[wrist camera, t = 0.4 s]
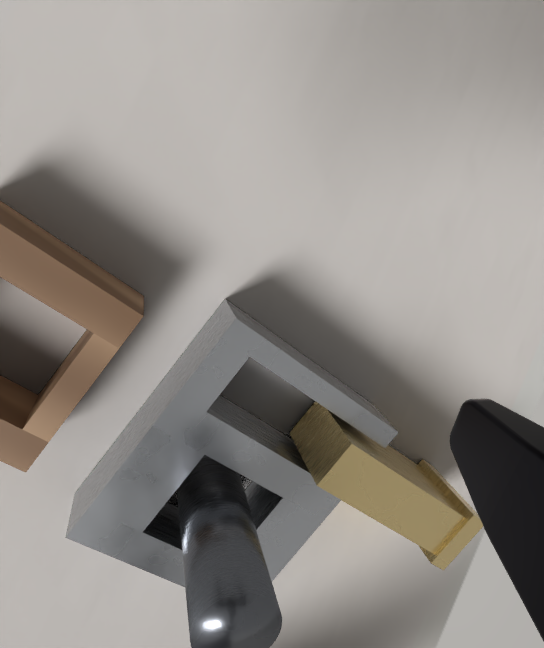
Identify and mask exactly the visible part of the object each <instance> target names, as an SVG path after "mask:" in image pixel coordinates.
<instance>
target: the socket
mask: <svg viewBox="0 0 544 648" xmlns="http://www.w3.org/2000/svg"><path fill="white" fill-rule="evenodd" d="M249 357H251V358H252V359H254V360H255V361H257V362H258V363H259V364H261V365H262V366H264V367H265V368H267V369H268V370H270V371H271V372H273V373H274V374H276V375H277V376H279V377H280V378H282V379H283V380H285V381H286V382H288V383H289V384H291V385H292V386H294V387H295V388H297V389H298V390H300V391H301V392H303V393H304V394H305V395H307V396H308V397H310V398H311V399H313V400H314V401H316V402H317V403H319V404H320V405H322V406H323V407H325V408H326V409H328V410H329V411H331V412H332V413H334V414H335V415H337V416H338V417H340V418H341V419H343V420H344V421H346V422H347V423H348V424H350V425H351V426H353V427H354V428H356V429H357V430H359V431H360V432H362V433H363V434H365V435H366V436H368V437H369V438H371V439H372V440H374V441H375V442H377V443H378V444H380V445H381V446H383V447H384V448H386V447H387V446H388V444H389V443H390V442H391V441H392V440H393V438H394V437H395V436H396V435H397V434H398V433H399V432H398V431H397V430H396V429H395V428H394V427H393V426H392V425H391V424H390V423H389V422H388V421H387V419H386V418H385V417H384V416H383V415H382V414H381V413H380V412H379V411H378V410H377V409H376V408H375V406H374V405H373V404H372V403H370V402H369V401H367V400H366V399H365V398H363V397H362V396H360V395H359V394H358V393H356V392H355V391H353V390H352V389H351V388H349V387H348V386H346V385H345V384H344V383H342V382H341V381H339V380H338V379H337V378H335V377H334V376H332V375H331V374H330V373H328V372H327V371H326V370H324V369H323V368H321V367H320V366H319V365H317V364H316V363H314V362H313V361H312V360H310V359H309V358H307V357H306V356H305V355H303V354H302V353H300V352H299V351H298V350H296V349H295V348H293V347H292V346H291V345H289V344H288V343H286V342H285V341H284V340H282V339H281V338H279V337H278V336H277V335H275V334H274V333H272V332H271V331H270V330H268V329H267V328H265V327H264V326H263V325H261V324H260V323H258V322H257V321H256V320H254V319H253V318H251V317H250V316H249V315H247V314H246V313H244V312H243V311H242V310H240V309H239V308H237V307H236V306H235V305H233V304H232V303H230V302H229V301H228V300H226V299H225V300H224V301H223V302H222V303H221V305H220V306H219V307H218V309H217V310H216V311H215V313H214V314H213V315H212V316H211V318H210V319H209V320H208V322H207V323H206V324H205V326H204V327H203V328H202V329H201V331H200V332H199V333H198V335H197V336H196V337H195V338H194V340H193V341H192V342H191V344H190V345H189V346H188V348H187V349H186V350H185V351H184V353H183V354H182V355H181V357H180V358H179V359H178V360H177V362H176V363H175V364H174V366H173V367H172V368H171V370H170V371H169V372H168V373H167V375H166V376H165V377H164V379H163V380H162V381H161V383H160V384H159V385H158V386H157V388H156V389H155V390H154V392H153V393H152V394H151V395H150V397H149V398H148V399H147V401H146V402H145V403H144V405H143V406H142V407H141V408H140V410H139V411H138V412H137V414H136V415H135V416H134V417H133V419H132V420H131V421H130V423H129V424H128V425H127V427H126V428H125V429H124V430H123V432H122V433H121V434H120V436H119V437H118V438H117V440H116V441H115V442H114V443H113V445H112V446H111V447H110V449H109V450H108V451H107V452H106V454H105V455H104V456H103V458H102V459H101V460H100V462H99V463H98V464H97V465H96V467H95V468H94V469H93V471H92V472H91V473H90V474H89V476H88V477H87V478H86V480H85V481H84V482H83V484H82V485H81V486H80V487H79V489H78V490H77V491H76V493H75V496H74V500H73V505H72V509H71V514H70V519H69V523H68V528H67V533H66V538H68V539H70V540H73V541H75V542H78V543H80V544H82V545H85V546H87V547H90V548H92V549H94V550H97V551H99V552H102V553H104V554H106V555H109V556H111V557H114V558H116V559H118V560H121V561H123V562H126V563H128V564H130V565H133V566H135V567H138V568H140V569H142V570H145V571H147V572H150V573H152V574H155V575H157V576H159V577H162V578H164V579H167V580H169V581H171V582H174V583H176V584H179V585H181V586H183V587H185V577H184V565H183V554H182V543H181V532H180V521H179V510H178V507H176V506H174V505H172V504H170V503H168V502H167V501H168V500H169V499H170V497H171V496H172V495H173V494H174V492H175V491H176V490H177V489H178V487H179V486H180V485H181V484H182V482H183V481H184V480H185V479H186V477H187V476H188V475H189V474H190V472H191V471H192V470H193V469H194V467H195V466H196V465H197V464H198V462H199V461H200V460H201V459H202V457H203V456H204V455H206V456H208V457H210V458H212V459H214V460H215V461H217V462H219V463H221V464H223V465H224V466H226V467H228V468H230V469H232V470H234V471H235V472H237V473H239V474H241V475H243V476H244V477H246V478H248V479H250V480H252V482H251V483H250V485H249V486H248V487H247V488H246V490H245V494H246V497H247V500H248V504H249V507H250V511H251V514H252V517H253V521H254V524H255V528H256V531H257V534H258V538H259V541H260V544H261V548H262V551H263V555H264V558H265V561H266V565H267V568H268V572H269V575H270V578H271V582H272V581H273V580H274V578H275V577H276V576H277V575H278V574H279V573H280V571H281V570H282V569H283V568H284V567H285V566H286V564H287V563H288V562H289V561H290V560H291V558H292V557H293V556H294V555H295V554H296V553H297V551H298V550H299V549H300V548H301V547H302V546H303V544H304V543H305V542H306V541H307V540H308V538H309V537H310V536H311V535H312V534H313V533H314V531H315V530H316V529H317V528H318V527H319V526H320V524H321V523H322V522H323V521H324V520H325V518H326V517H327V516H328V515H329V514H330V513H331V511H332V510H333V509H334V508H335V507H336V506H337V504H338V503H339V502H340V501H341V500H340V499H339V498H337V497H335V496H334V495H332V494H330V493H328V492H327V491H325V490H323V489H322V488H320V487H318V486H317V485H316V483H315V481H314V479H313V477H312V476H311V474H310V472H309V470H308V468H307V466H306V464H305V462H304V460H303V458H302V456H301V454H300V453H299V451H298V449H297V447H296V445H295V443H294V441H293V440H292V439H291V438H289V437H287V436H286V435H284V434H283V433H281V432H279V431H278V430H276V429H275V428H273V427H271V426H270V425H268V424H266V423H265V422H263V421H262V420H260V419H258V418H257V417H255V416H253V415H252V414H250V413H249V412H247V411H245V410H244V409H242V408H241V407H239V406H237V405H236V404H234V403H232V402H231V401H229V400H228V399H226V398H224V397H223V396H221V395H220V394H221V392H222V391H223V390H224V389H225V387H226V386H227V385H228V384H229V382H230V381H231V380H232V378H233V377H234V376H235V375H236V373H237V372H238V371H239V370H240V368H241V367H242V366H243V365H244V363H245V362H246V361H247V360H248V358H249Z"/></svg>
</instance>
